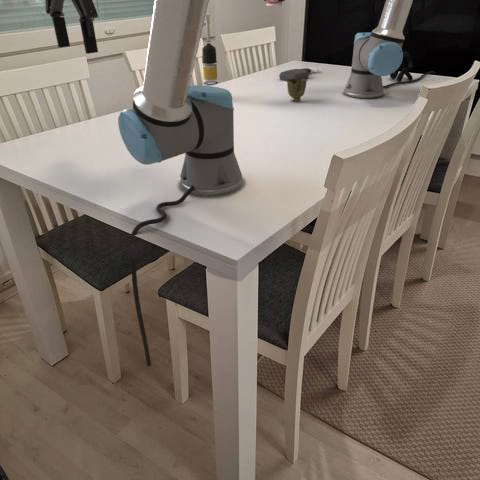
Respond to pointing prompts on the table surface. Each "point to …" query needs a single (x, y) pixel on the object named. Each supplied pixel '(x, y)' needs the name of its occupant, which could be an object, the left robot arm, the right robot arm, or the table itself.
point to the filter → (209, 58)
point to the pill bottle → (273, 3)
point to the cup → (296, 88)
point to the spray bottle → (297, 73)
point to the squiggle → (403, 68)
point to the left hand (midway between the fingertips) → (77, 49)
